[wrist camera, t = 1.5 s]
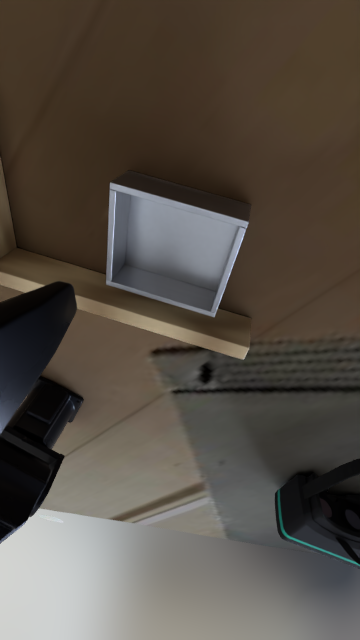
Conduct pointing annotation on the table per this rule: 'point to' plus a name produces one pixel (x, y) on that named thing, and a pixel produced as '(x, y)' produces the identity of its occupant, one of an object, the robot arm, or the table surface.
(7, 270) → the corner bracket
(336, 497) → the virtual reality headset
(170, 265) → the baking tin
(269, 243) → the table surface
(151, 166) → the table surface
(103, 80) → the table surface
